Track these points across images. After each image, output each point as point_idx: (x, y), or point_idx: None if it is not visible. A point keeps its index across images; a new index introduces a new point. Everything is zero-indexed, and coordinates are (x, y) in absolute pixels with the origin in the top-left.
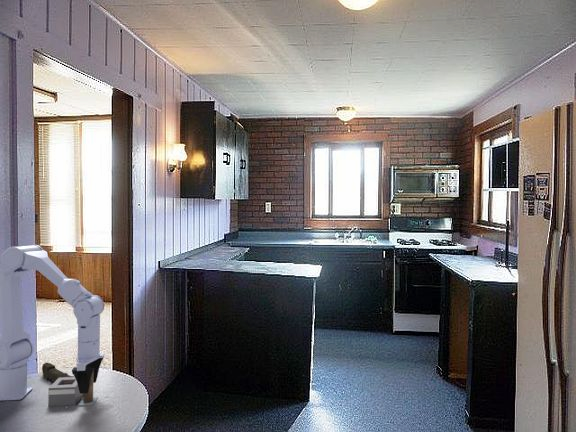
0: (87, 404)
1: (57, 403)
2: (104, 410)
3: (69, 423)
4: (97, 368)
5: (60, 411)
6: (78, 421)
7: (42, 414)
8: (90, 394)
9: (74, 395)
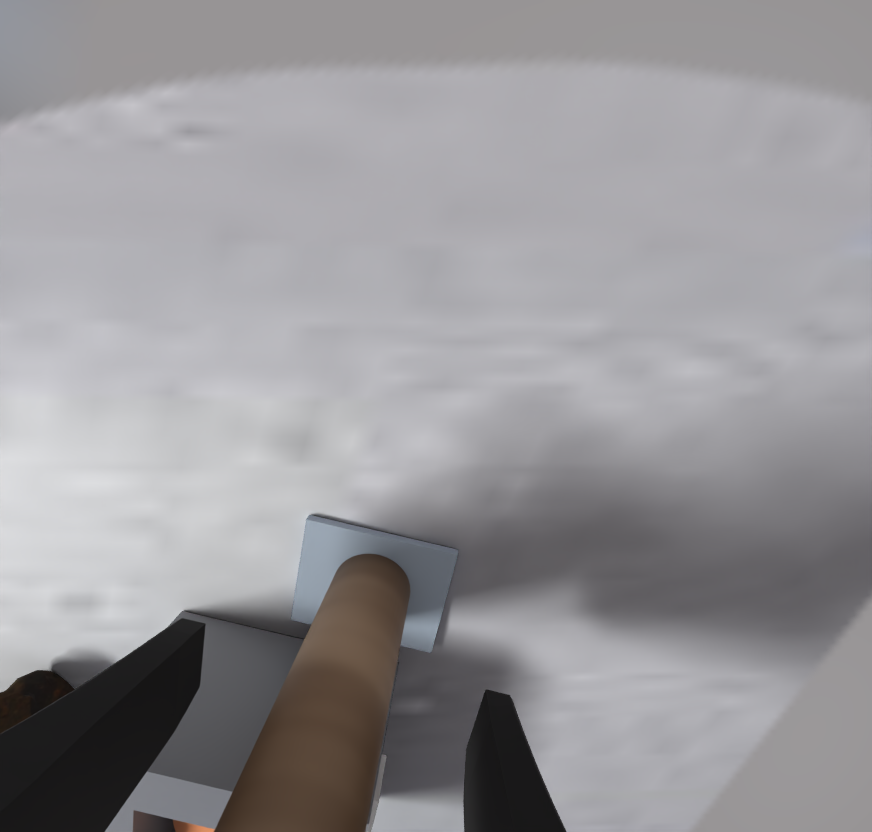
0: (444, 591)
1: None
2: (604, 465)
3: (729, 688)
4: (39, 788)
5: None
6: (727, 638)
7: None
8: (392, 620)
9: (384, 737)
